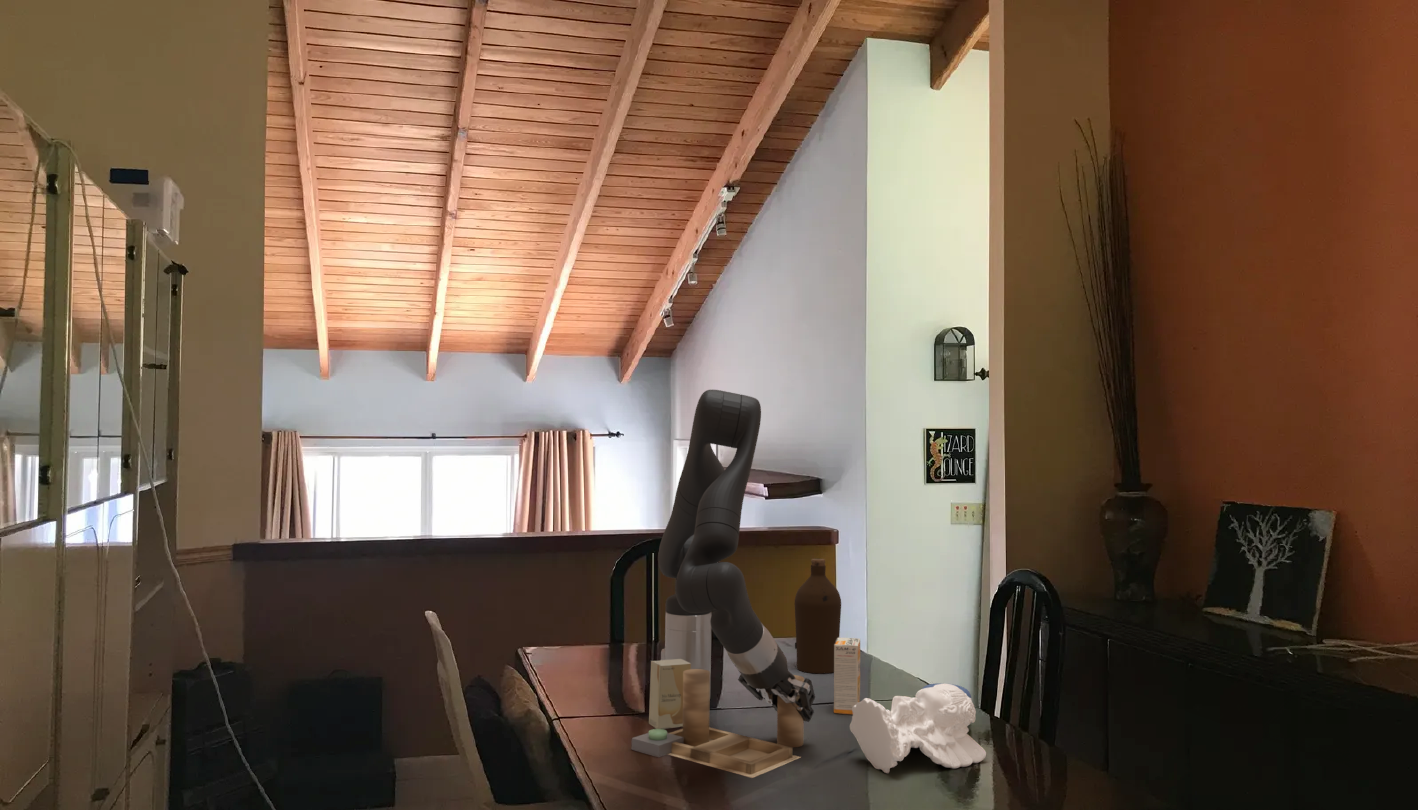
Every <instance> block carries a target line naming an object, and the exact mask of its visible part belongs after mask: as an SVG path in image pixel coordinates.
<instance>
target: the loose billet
mask: <svg viewBox="0 0 1418 810" xmlns="http://www.w3.org/2000/svg"><path fill="white" fill-rule="evenodd" d="M793 675H794V676H795V679H796V680H799V681H801V682H804V680H805V677H803V676H802V675H798V674H797V675H796V674H793ZM799 698H800V697H799V696H798V695H797V697H796V701H797V702H798V700H799ZM776 713H777V714H776V717H777V718H776V722H777V723H776V726H777V727H776V728H777V729H776V732H777V733H776V744H779V745H783V746H788V747H792V748H799V747H802V746H803V745H804V733H805V731H804V725H805V724H804V723H805V721H804V720H803V718H802V717H801V715H800V714H799V713H798V711H797V710H796V708H795V707H794V706H793V705H792V704H787V703H786V702H785V701H784V700H783V699H782V698H781V697H780V696H779V695H778V699H777V711H776Z"/></svg>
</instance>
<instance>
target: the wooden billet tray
mask: <svg viewBox="0 0 1418 810" xmlns="http://www.w3.org/2000/svg"><path fill="white" fill-rule="evenodd" d="M668 733H669V734H673V735H677V736H681V737H683V728H680V729H677V730H674V731H670V732H668ZM667 755H668V756H671V757H675V758H678V759H682V760H685V761H690V762H694V763H697V764H701V765H704V766H708V767H711V768H715V769H718V770H722V771H726V772H730V773H733V774H737V775H741V776H744V777H747V778H751V779H754V778H756V777H759V776H760V775H763V774H766V773H768V772H770V771H773V770H775V769H777V768H779V767H782V766H784V765H786V764H789V763H791V762H793V761H796V760H798V759H800V758H802V756H799V755H794V754H793V747H788V746H783V745H779V744H777V743H775V742H772V741H767V740H762V739H759V738H754V737H752V736H751V737H750V736H748V735H747V736H745V735H741V734H738V733H734V732H730V731H726V730H721V729H717V728H713V727H710V726H709V742H707V743H704V744H701V745H698V746H696V747H693V746H689V745H686V744H682V743H678V742H674V743H672V748H671V753H669V754H667ZM667 755H666V756H667Z"/></svg>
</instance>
